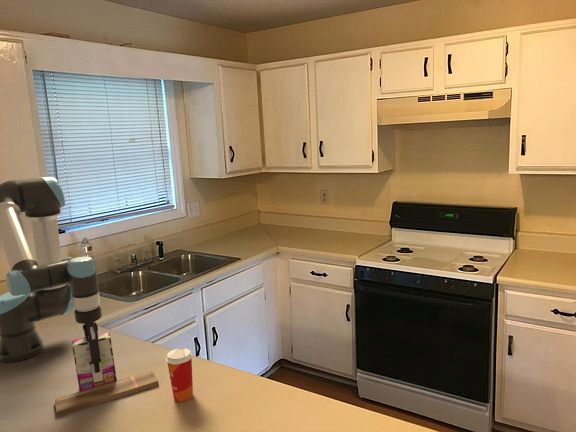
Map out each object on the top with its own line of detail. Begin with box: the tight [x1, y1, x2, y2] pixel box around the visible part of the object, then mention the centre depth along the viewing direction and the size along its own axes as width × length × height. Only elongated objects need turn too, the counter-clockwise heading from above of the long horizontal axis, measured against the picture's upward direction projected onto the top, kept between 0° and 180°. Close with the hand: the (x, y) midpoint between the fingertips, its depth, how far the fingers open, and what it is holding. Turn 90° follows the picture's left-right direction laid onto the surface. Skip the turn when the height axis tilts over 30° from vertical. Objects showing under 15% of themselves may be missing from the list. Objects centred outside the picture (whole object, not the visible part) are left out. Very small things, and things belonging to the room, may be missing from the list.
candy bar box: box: [71, 331, 117, 392], centre depth 148 cm, size 11×5×16 cm, turn 115°
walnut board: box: [54, 370, 160, 418], centre depth 144 cm, size 8×29×2 cm, turn 120°
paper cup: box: [165, 347, 194, 403], centre depth 139 cm, size 8×8×14 cm
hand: (97, 376), depth 149 cm, fingers closed on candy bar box, 5 cm apart
